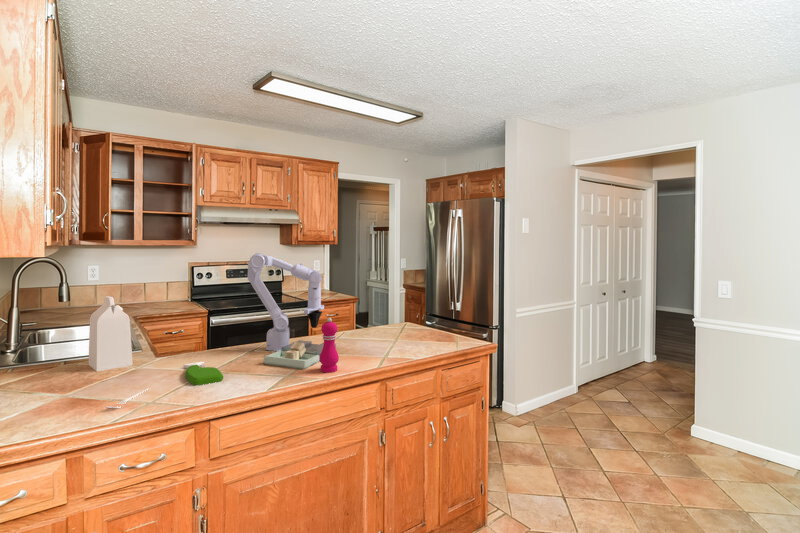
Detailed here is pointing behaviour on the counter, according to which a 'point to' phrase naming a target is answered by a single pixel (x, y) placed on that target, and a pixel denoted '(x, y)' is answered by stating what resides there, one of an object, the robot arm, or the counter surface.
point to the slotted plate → (307, 347)
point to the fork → (127, 399)
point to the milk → (109, 337)
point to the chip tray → (291, 360)
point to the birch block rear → (299, 348)
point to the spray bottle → (202, 374)
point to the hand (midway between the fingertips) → (314, 327)
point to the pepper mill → (329, 347)
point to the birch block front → (292, 354)
